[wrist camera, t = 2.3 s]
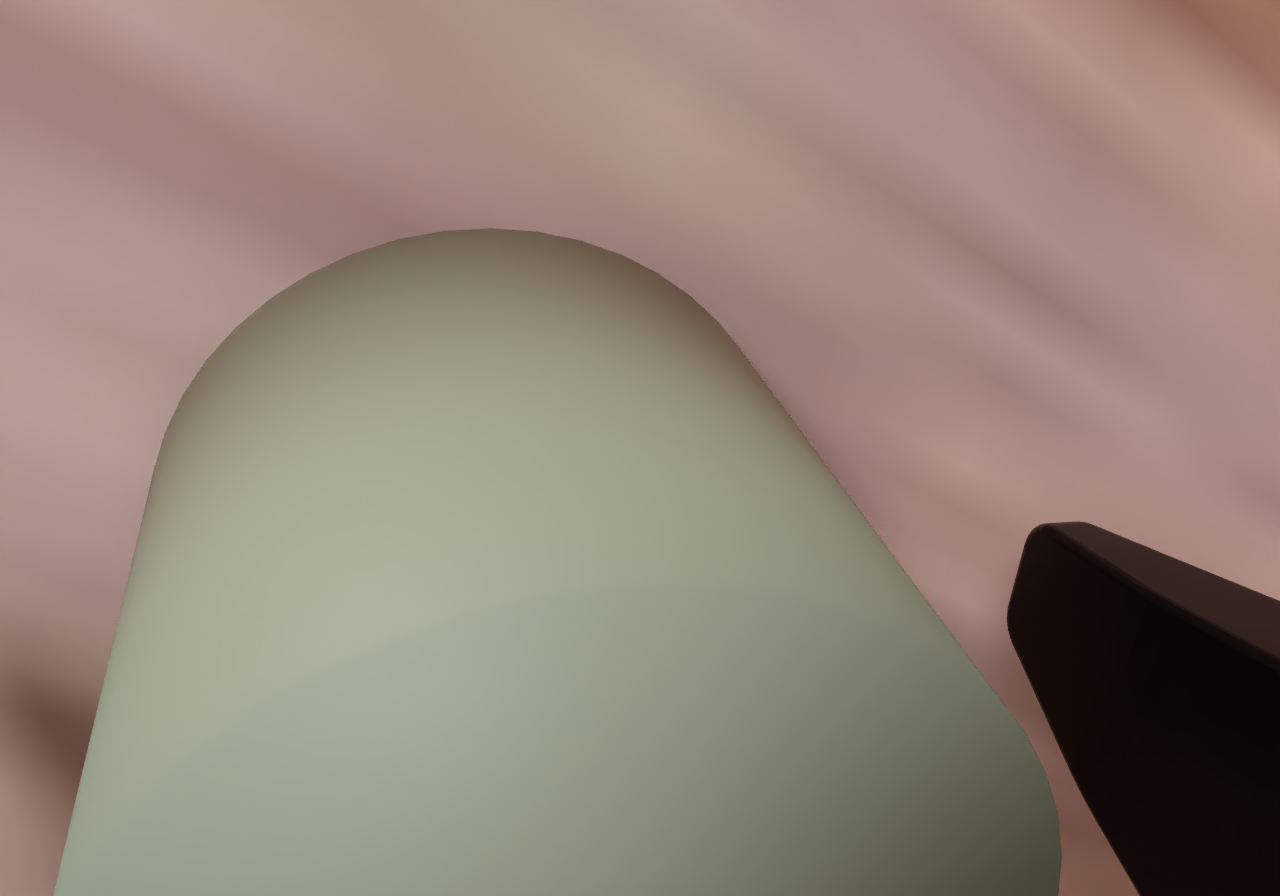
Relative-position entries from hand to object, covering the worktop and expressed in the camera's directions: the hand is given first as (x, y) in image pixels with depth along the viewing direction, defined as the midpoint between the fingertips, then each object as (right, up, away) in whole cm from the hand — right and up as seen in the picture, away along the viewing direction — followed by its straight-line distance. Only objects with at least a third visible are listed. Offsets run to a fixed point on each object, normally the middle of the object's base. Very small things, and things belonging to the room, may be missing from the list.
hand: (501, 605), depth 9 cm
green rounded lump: (0, 0, +1) cm, 1 cm away
